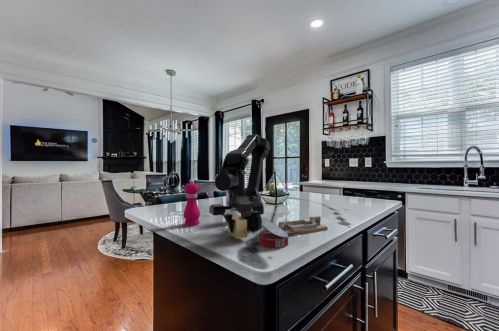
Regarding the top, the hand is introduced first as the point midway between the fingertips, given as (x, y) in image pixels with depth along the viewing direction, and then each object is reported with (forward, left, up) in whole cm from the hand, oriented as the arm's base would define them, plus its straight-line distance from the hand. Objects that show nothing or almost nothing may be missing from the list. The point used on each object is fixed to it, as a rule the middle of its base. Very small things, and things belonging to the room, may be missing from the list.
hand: (237, 231), depth 86 cm
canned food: (+13, +3, -3) cm, 14 cm away
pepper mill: (-29, +5, -3) cm, 30 cm away
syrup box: (-16, +19, -3) cm, 25 cm away
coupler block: (0, 0, -1) cm, 1 cm away
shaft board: (+14, +22, -2) cm, 26 cm away
